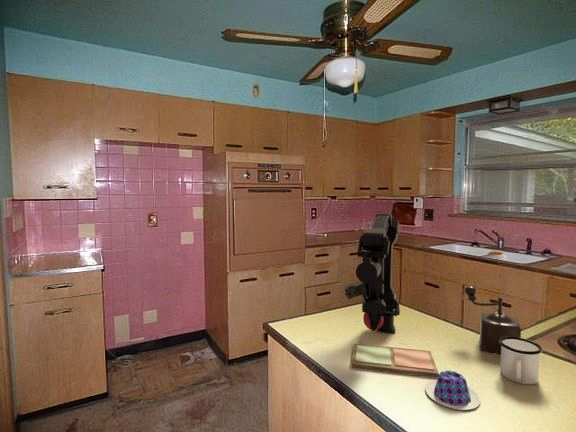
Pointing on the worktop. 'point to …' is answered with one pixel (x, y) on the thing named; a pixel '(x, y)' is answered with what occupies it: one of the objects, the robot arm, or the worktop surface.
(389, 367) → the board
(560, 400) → the worktop surface
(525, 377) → the mug
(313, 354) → the worktop surface
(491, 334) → the brown coffee grinder
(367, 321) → the onion
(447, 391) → the pudding
